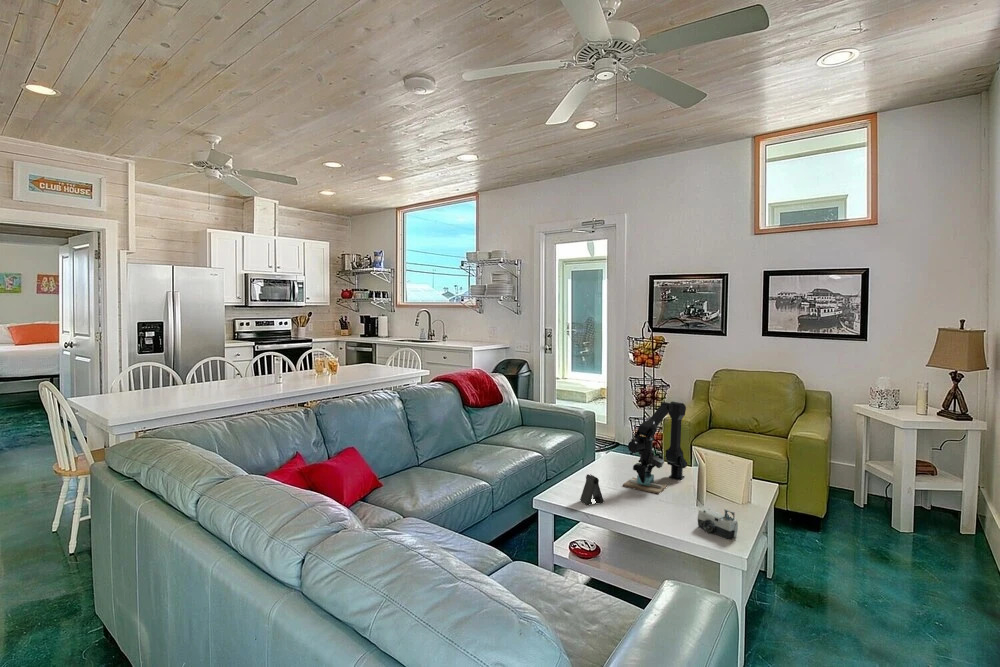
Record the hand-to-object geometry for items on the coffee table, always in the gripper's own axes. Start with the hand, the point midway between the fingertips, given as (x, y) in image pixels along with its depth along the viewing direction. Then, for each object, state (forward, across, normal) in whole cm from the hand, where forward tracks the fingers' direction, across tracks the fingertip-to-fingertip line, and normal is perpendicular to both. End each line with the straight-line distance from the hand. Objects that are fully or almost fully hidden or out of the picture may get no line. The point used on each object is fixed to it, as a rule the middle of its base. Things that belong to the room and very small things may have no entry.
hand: (645, 481), depth 253 cm
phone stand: (+3, -35, +12) cm, 37 cm away
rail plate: (+3, 0, 0) cm, 3 cm away
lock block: (+1, 0, 0) cm, 1 cm away
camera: (+3, -33, -41) cm, 53 cm away
